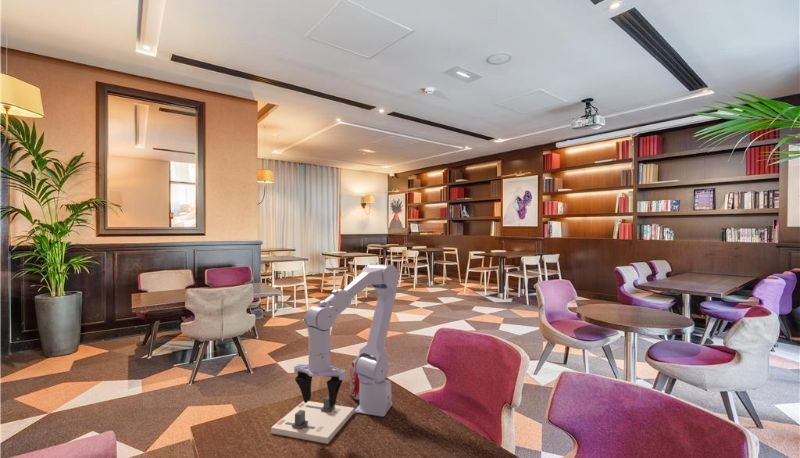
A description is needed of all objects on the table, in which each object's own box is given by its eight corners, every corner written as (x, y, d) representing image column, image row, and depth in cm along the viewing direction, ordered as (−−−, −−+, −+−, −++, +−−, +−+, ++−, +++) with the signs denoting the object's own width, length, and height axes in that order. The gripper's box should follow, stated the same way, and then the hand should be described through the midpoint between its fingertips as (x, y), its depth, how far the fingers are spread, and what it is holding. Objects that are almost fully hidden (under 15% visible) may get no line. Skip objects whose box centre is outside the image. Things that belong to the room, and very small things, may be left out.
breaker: (335, 407, 104) (334, 395, 104) (330, 412, 101) (330, 400, 101) (326, 405, 105) (326, 394, 105) (320, 410, 102) (320, 399, 102)
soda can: (367, 402, 110) (367, 364, 111) (346, 400, 112) (346, 363, 112) (374, 392, 117) (373, 356, 118) (353, 390, 119) (353, 355, 119)
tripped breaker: (307, 423, 96) (307, 410, 96) (301, 428, 93) (301, 416, 93) (298, 421, 96) (298, 409, 96) (292, 427, 94) (291, 414, 94)
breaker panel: (354, 412, 104) (353, 407, 104) (327, 443, 89) (327, 437, 89) (304, 405, 109) (304, 400, 109) (271, 433, 94) (271, 427, 94)
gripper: (287, 354, 91) (287, 406, 91) (336, 359, 87) (337, 414, 87) (302, 345, 98) (302, 394, 98) (349, 350, 94) (349, 401, 94)
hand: (319, 403), depth 93 cm, fingers open, 7 cm apart
